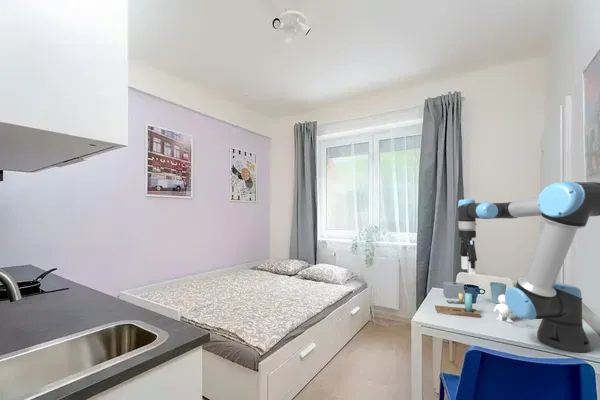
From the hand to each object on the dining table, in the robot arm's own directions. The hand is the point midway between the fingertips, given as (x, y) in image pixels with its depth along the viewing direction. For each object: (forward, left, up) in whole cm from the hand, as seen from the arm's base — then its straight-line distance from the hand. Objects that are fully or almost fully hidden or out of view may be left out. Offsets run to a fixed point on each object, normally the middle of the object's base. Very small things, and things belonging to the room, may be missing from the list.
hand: (468, 271), depth 141 cm
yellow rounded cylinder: (+17, +3, -21) cm, 27 cm away
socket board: (0, +6, -21) cm, 22 cm away
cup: (+24, -20, -21) cm, 38 cm away
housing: (+29, +1, -21) cm, 35 cm away
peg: (0, 0, -21) cm, 21 cm away
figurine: (-5, -13, -21) cm, 25 cm away
